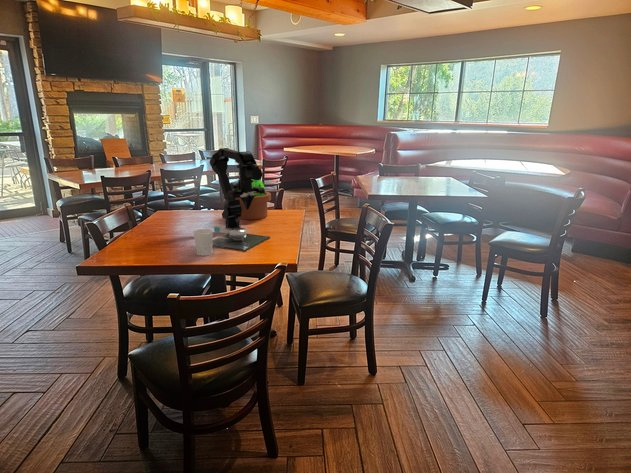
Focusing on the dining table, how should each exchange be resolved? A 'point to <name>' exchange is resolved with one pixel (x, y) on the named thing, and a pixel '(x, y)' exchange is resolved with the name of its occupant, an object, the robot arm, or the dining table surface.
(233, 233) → the teal-tipped lever
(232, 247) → the lock base
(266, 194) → the potted cactus
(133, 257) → the dining table surface
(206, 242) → the white cup
